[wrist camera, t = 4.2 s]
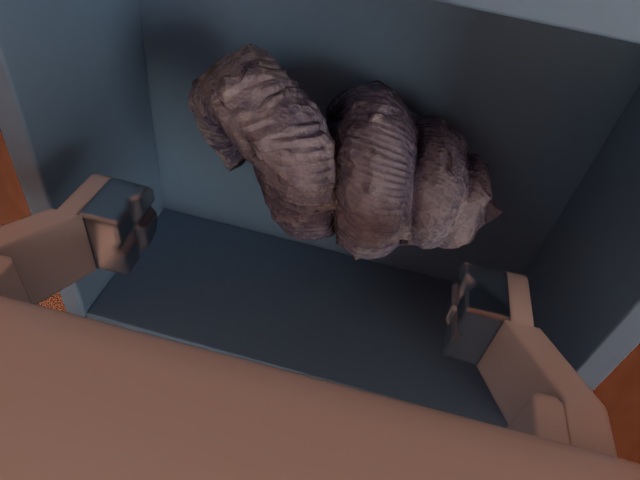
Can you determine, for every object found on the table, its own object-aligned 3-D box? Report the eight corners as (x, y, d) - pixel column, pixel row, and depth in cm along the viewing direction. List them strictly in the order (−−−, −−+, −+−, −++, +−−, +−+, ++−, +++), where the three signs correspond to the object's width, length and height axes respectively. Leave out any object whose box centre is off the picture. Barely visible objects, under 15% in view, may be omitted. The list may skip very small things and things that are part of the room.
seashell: (225, 82, 18) (492, 152, 18) (181, 221, 17) (459, 297, 17) (190, -13, 13) (567, 85, 13) (124, 180, 12) (524, 289, 12)
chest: (106, -181, 13) (-110, -166, 8) (747, -59, 12) (936, 46, 7) (157, 206, 23) (68, 321, 18) (520, 299, 21) (534, 451, 16)
